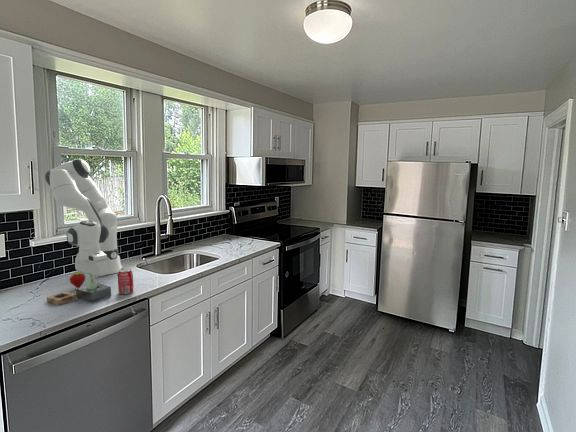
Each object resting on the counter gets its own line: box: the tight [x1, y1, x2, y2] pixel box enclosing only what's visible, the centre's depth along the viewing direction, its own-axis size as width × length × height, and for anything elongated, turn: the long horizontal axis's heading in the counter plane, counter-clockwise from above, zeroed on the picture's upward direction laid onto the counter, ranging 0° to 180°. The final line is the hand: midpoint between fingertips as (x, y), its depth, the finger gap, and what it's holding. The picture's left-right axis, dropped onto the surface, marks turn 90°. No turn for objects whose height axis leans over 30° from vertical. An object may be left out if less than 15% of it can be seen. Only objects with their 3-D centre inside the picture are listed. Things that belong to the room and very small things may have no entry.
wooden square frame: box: [46, 290, 77, 306], centre depth 159 cm, size 9×9×2 cm
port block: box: [75, 282, 112, 304], centre depth 164 cm, size 12×10×5 cm
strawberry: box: [69, 270, 86, 288], centre depth 175 cm, size 6×8×10 cm
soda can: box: [117, 268, 134, 295], centre depth 171 cm, size 7×7×12 cm
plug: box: [85, 273, 98, 290], centre depth 163 cm, size 3×3×9 cm
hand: (91, 281), depth 163 cm, fingers closed on plug, 3 cm apart
